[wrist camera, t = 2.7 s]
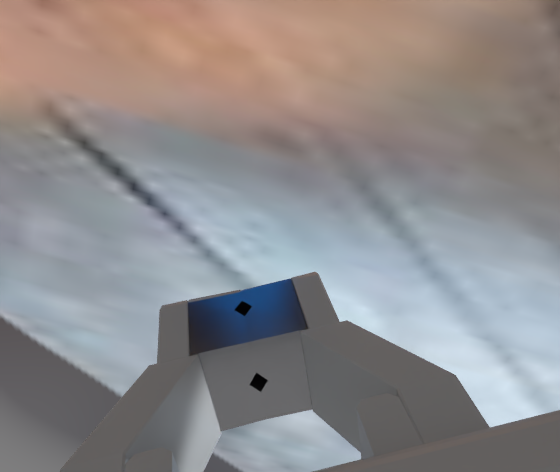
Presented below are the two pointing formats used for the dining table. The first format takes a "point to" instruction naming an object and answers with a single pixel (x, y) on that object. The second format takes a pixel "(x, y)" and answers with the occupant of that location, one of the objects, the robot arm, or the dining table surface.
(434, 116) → the dining table surface
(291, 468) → the dining table surface
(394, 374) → the robot arm
